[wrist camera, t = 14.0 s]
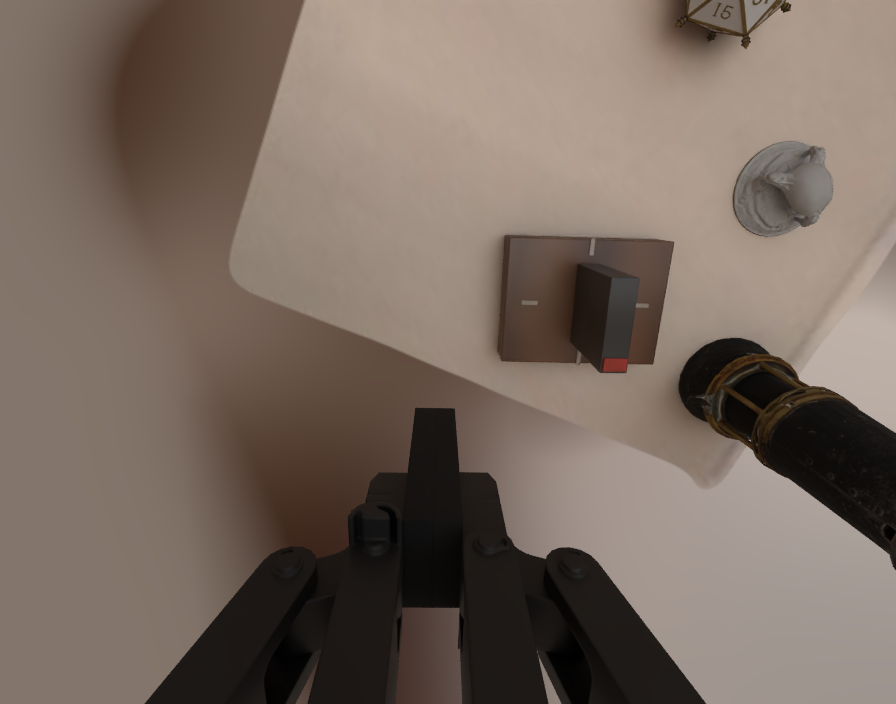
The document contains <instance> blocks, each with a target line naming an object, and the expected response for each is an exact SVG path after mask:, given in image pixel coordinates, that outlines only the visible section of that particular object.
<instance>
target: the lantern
mask: <svg viewBox="0 0 896 704" xmlns="http://www.w3.org/2000/svg"><path fill="white" fill-rule="evenodd" d="M822 390H825V391H822ZM679 393H680V396H681V399H682V402H683V404H684V405H685V407H686V408H687V409H688V410H689V411H690V413H691V414H693V415H694V416H695V417H697V418H699V419H701V420H703V421H706V422H709V424H710V425H711V427H712V428H713V429H714V430H715V431H716V432H717V433H719V434H721V435H723V436H725V437H727V438H731V439H736V440H740V441H741V442H742V443H744V444H745V445H746V446H748V447H749V448H751V449H752V450H753V452H754V454H755V456H756V458H757V459H758V460H759V461H760V462H761V463H762V464H763V465H764V466H766V467H768V468H770V469H772V470H773V471H775V472H776V473H778V474H780V475H782V476H784V477H786V478H789V479H790V480H792V481H793V482H794V483H796V484H797V485H798V486H800V487H801V488H802V489H804V490H805V491H806V492H808V493H809V494H810V495H812V496H813V497H814V498H816V499H817V500H819V501H820V502H821V503H822V504H824V505H825V506H826V507H828V508H829V509H830V510H832V511H833V512H834V513H836V514H837V515H838V516H840V517H841V518H842V519H844V520H845V521H846V522H848V523H849V524H850V525H851V526H853V527H854V528H855V529H857V530H858V531H860V532H861V533H862V534H863V535H865V536H866V537H868V538H869V539H870V540H872V541H873V542H874V543H875V544H877V545H878V546H879V547H881V548H882V549H883V550H884V551H886V552H887V553H889V554H890V558H891V561H892V564H893V567H894V569H895V570H896V433H895V432H893V431H891V430H890V429H888V428H887V427H885V426H884V425H882V424H881V423H879V422H877V421H876V420H874V419H873V418H871V417H870V416H868V415H866V414H865V413H863V412H862V411H860V410H859V409H858V408H857V407H856V406H855V405H853V404H852V403H851V402H849V401H848V400H847V399H845V398H844V397H842V396H840V395H839V394H837V393H835V392H833V391H831V390H829V389H826V388H824V387H816V386H811V387H810V386H808V385H807V384H805V383H803V382H801V381H800V380H799V379H798V376H797V373H796V371H795V370H794V369H793V368H792V366H791V365H790V364H788V363H787V362H785V361H784V360H782V359H781V358H779V357H775V356H772V355H770V354H769V353H768V352H767V351H766V350H765V349H764V348H763V347H761V346H760V345H758V344H756V343H754V342H752V341H749V340H745V339H742V338H730V339H721V340H717V341H715V342H713V343H710V344H708V345H705V346H704V347H703V348H701V349H700V350H699V351H697V352H696V353H695V354H694V355H693V356H692V357H691V358H690V359H689V361H688V362H687V364H686V366H685V367H684V369H683V371H682V373H681V375H680V382H679ZM749 440H751V442H750V441H749ZM763 462H764V463H765V464H766V465H765V464H764V463H763Z"/></svg>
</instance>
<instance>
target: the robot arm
mask: <svg viewBox="0 0 896 704" xmlns="http://www.w3.org/2000/svg"><path fill="white" fill-rule="evenodd" d="M348 530H349V546H348V547H347V548H346V549H345V550H343V551H341V552H339V553H336V554H333V555H330V556H326V557H322V558H317V559H316V556H315V555H314V553H313V552H312V551H311V550H309V549H306V548H304V547H288V548H284V549H280V550H278V551H276V552H274V553H272V554H270V555H269V556H268V557H267V558H266V559H265V560H264V561H263V562H262V563H261V564H260V565H259V567H258V568H257V569H256V570H255V571H254V573H253V574H252V575H251V576H250V577H249V579H248V580H247V581H246V582H245V583H244V585H243V586H242V587H241V588H240V589H239V591H238V592H237V593H236V594H235V596H234V597H233V598H232V599H231V600H230V601H229V603H228V604H227V605H226V606H225V607H224V609H223V610H222V611H221V612H220V613H219V615H218V616H217V617H216V618H215V620H214V621H213V622H212V623H211V624H210V626H209V627H208V628H207V629H206V630H205V632H204V633H203V634H202V635H201V636H200V638H199V639H198V640H197V641H196V642H195V644H194V645H193V646H192V647H191V648H190V650H189V651H188V652H187V653H186V655H185V656H184V657H183V658H182V659H181V660H180V662H179V663H178V664H177V665H176V667H175V668H174V669H173V670H172V671H171V673H170V674H169V675H168V676H167V677H166V679H165V680H164V681H163V682H162V684H161V685H160V686H159V687H158V688H157V689H156V691H155V692H154V693H153V694H152V695H151V697H150V698H149V699H148V700H147V702H146V703H145V704H295V703H296V701H297V699H298V698H299V695H300V694H301V692H302V690H303V688H304V686H305V684H306V682H307V680H308V678H309V677H310V675H311V673H312V671H313V669H314V667H315V665H316V663H317V661H318V659H319V662H318V665H317V669H316V674H315V677H314V681H313V685H312V688H311V692H310V696H309V700H308V704H396V692H397V680H398V669H399V657H400V645H401V634H402V606H403V607H421V608H422V607H423V608H427V607H428V608H429V607H430V608H435V607H436V608H459V606H460V614H459V636H458V649H460V661H461V684H462V704H548V699H547V695H546V690H545V685H544V681H543V677H542V672H541V667H540V663H539V658H538V655H539V657H540V659H541V662H542V664H543V666H544V668H545V670H546V672H547V674H548V676H549V678H550V680H551V682H552V684H553V686H554V689H555V691H556V693H557V695H558V697H559V699H560V701H561V703H562V704H706V703H705V702H704V700H703V699H702V698H701V696H700V695H699V694H698V692H697V691H696V690H695V689H694V687H693V686H692V685H691V683H690V682H689V681H688V679H687V678H686V677H685V675H684V674H683V673H682V672H681V670H680V669H679V668H678V666H677V665H676V664H675V662H674V661H673V660H672V659H671V657H670V656H669V655H668V653H667V652H666V651H665V649H664V648H663V647H662V645H661V644H660V643H659V642H658V640H657V639H656V638H655V636H654V635H653V634H652V632H651V631H650V630H649V629H648V627H647V626H646V625H645V623H644V622H643V621H642V619H641V618H640V617H639V615H638V614H637V613H636V612H635V610H634V609H633V608H632V606H631V605H630V604H629V602H628V601H627V600H626V598H625V597H624V596H623V595H622V593H621V592H620V591H619V589H618V588H617V587H616V585H615V584H614V583H613V582H612V580H611V579H610V578H609V576H608V575H607V574H606V572H605V571H604V570H603V568H602V567H601V566H600V565H599V563H598V562H597V561H595V559H594V558H593V557H592V556H591V555H589V554H587V553H585V552H583V551H581V550H578V549H574V548H570V547H569V548H558V549H555V550H552V551H551V552H550V553H549V554H548V555H547V557H546V559H543V558H539V557H536V556H532V555H529V554H526V553H524V552H522V551H521V550H519V549H517V548H516V547H515V546H514V544H513V542H512V540H511V539H510V538H509V537H508V536H507V532H506V527H505V523H504V518H503V513H502V508H501V504H500V498H499V494H498V489H497V484H496V481H495V480H494V479H493V478H492V477H491V476H490V475H489V474H488V473H469V472H468V473H465V472H459V461H458V447H457V435H456V421H455V409H451V408H450V409H449V408H448V409H447V408H444V409H443V408H415V416H414V424H413V433H412V441H411V449H410V458H409V466H408V473H378V474H377V475H376V476H375V477H374V479H373V480H372V481H371V482H370V486H369V489H368V494H367V497H366V503H364V504H361V505H359V506H357V507H356V508H355V509H353V510H352V511H351V513H350V514H349V516H348ZM537 651H538V653H537Z"/></svg>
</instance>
